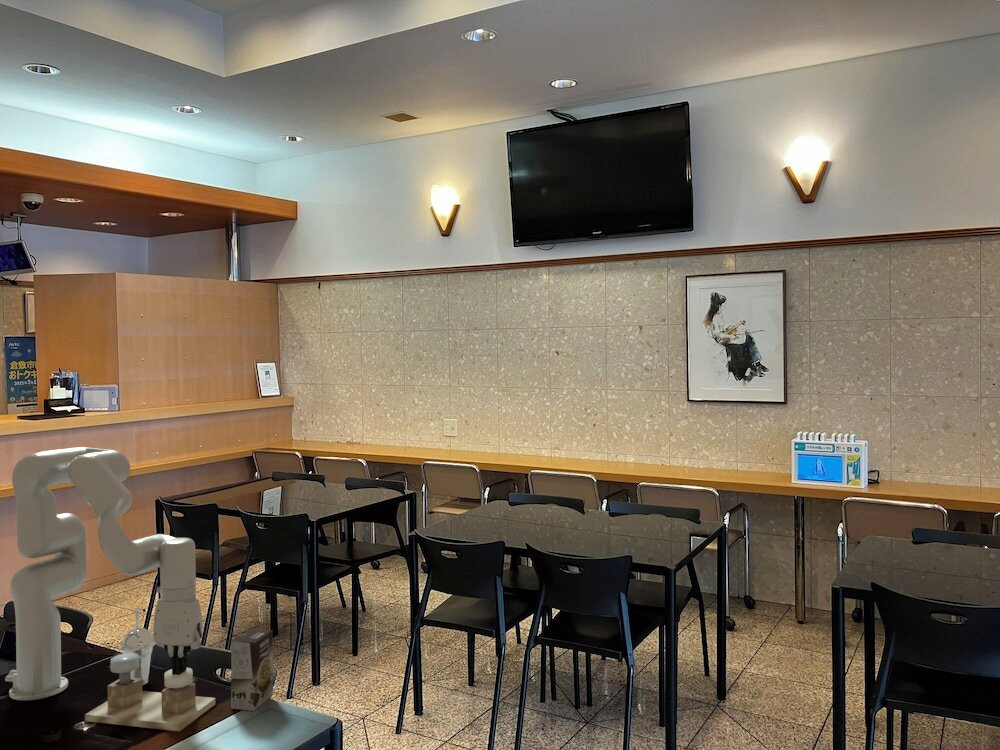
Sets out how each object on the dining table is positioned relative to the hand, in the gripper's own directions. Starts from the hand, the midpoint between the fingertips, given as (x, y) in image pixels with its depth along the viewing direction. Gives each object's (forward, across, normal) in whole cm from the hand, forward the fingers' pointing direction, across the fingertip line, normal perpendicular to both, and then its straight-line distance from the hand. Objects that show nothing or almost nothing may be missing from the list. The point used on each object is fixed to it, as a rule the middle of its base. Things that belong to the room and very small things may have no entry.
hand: (179, 672), depth 181 cm
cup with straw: (+10, -21, +14) cm, 27 cm away
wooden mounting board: (+10, -7, 0) cm, 12 cm away
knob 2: (+7, 0, 0) cm, 8 cm away
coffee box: (+10, +13, +10) cm, 19 cm away
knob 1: (+5, -14, 0) cm, 15 cm away
